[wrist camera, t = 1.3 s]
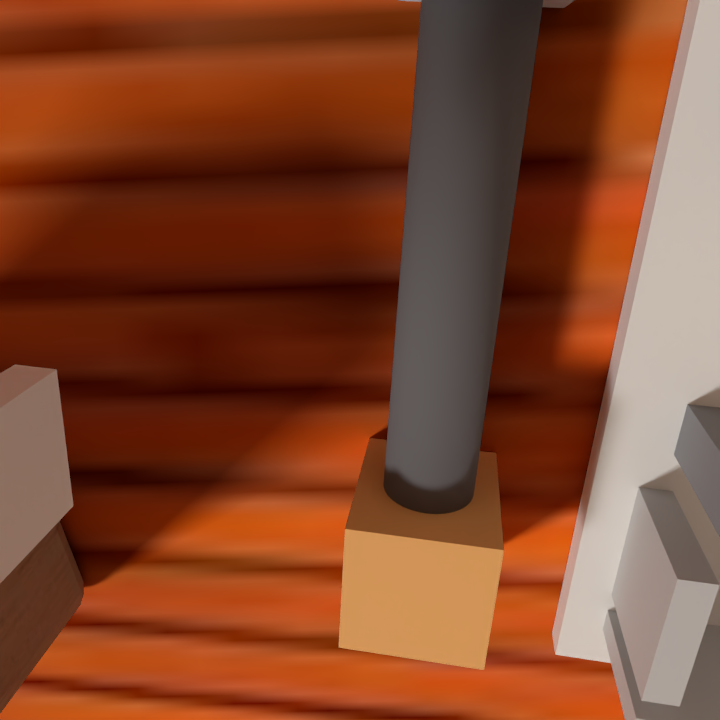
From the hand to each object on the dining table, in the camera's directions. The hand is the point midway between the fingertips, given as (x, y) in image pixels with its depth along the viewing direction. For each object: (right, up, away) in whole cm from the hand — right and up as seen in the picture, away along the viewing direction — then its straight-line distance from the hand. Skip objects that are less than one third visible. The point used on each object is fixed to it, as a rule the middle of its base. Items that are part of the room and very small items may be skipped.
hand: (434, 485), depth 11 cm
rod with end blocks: (+2, +6, +13) cm, 14 cm away
